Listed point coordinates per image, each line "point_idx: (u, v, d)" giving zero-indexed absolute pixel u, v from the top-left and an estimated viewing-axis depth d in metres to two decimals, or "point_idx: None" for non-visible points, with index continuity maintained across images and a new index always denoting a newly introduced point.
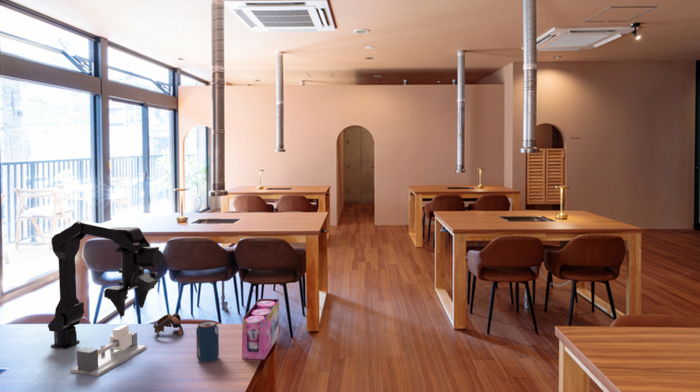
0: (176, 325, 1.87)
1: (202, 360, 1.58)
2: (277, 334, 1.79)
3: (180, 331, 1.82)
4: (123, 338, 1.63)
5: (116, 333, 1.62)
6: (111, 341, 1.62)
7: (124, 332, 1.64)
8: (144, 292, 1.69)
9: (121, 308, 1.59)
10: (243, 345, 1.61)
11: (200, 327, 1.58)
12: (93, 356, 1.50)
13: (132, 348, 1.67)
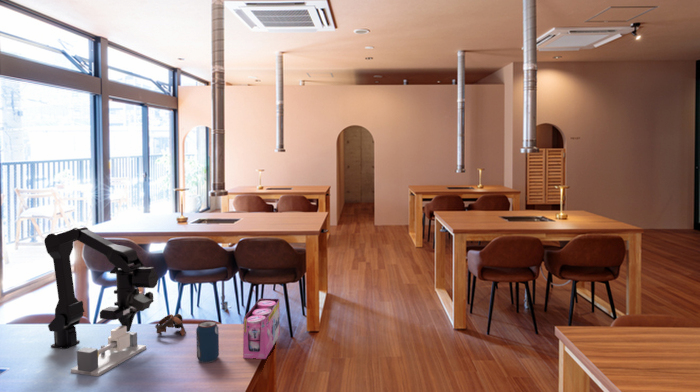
0: (178, 325, 1.86)
1: (202, 360, 1.58)
2: (278, 334, 1.80)
3: (182, 331, 1.81)
4: (121, 339, 1.62)
5: (114, 334, 1.61)
6: (109, 342, 1.62)
7: (122, 333, 1.64)
8: (130, 315, 1.67)
9: (126, 324, 1.66)
10: (244, 345, 1.61)
11: (200, 327, 1.58)
12: (93, 356, 1.50)
13: (132, 348, 1.67)
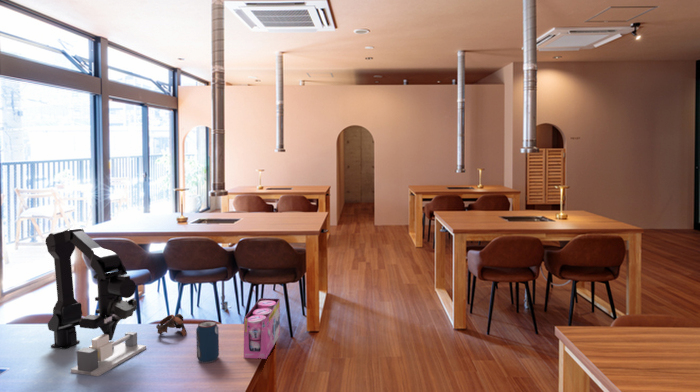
0: (179, 326, 1.86)
1: (202, 360, 1.58)
2: (278, 333, 1.80)
3: (183, 332, 1.81)
4: (103, 349, 1.54)
5: (95, 343, 1.53)
6: None
7: (104, 342, 1.56)
8: (113, 324, 1.59)
9: (108, 332, 1.58)
10: (245, 345, 1.61)
11: (200, 327, 1.58)
12: (93, 356, 1.50)
13: (132, 348, 1.67)
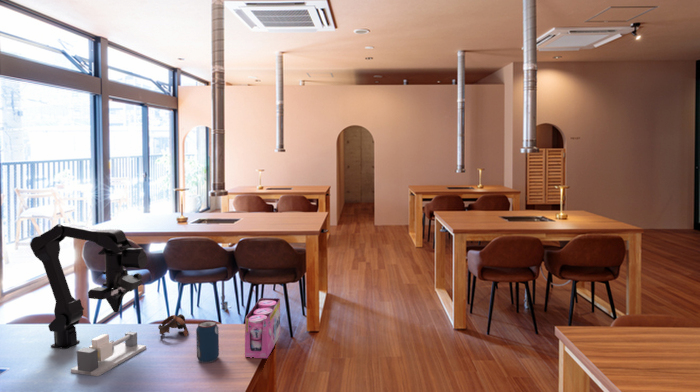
0: (181, 326, 1.86)
1: (202, 360, 1.58)
2: (278, 333, 1.80)
3: (185, 332, 1.81)
4: (103, 349, 1.54)
5: (95, 343, 1.53)
6: None
7: (104, 342, 1.56)
8: (119, 296, 1.69)
9: (114, 305, 1.67)
10: (246, 344, 1.62)
11: (200, 327, 1.58)
12: (93, 356, 1.50)
13: (132, 348, 1.67)
